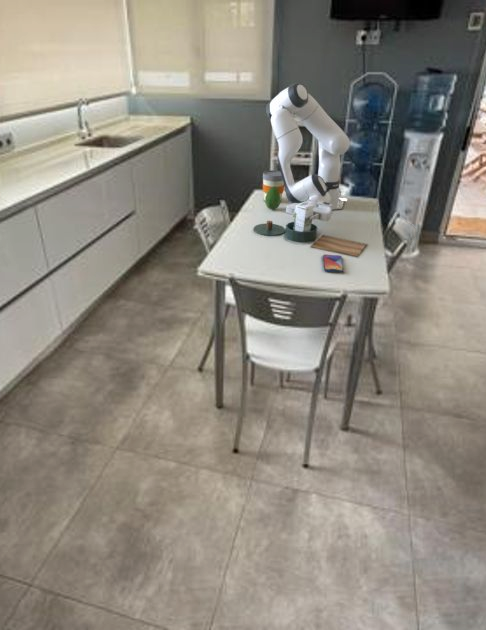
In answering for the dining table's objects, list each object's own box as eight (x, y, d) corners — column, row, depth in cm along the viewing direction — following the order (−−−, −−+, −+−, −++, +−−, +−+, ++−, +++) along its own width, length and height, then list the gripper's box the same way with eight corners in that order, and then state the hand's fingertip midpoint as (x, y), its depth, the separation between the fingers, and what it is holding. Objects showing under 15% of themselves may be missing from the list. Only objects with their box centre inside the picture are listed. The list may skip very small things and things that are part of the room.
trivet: (322, 236, 205) (322, 234, 204) (366, 244, 196) (366, 243, 196) (311, 247, 193) (311, 245, 193) (357, 257, 185) (357, 255, 185)
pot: (292, 230, 210) (293, 219, 207) (319, 236, 205) (321, 225, 202) (280, 239, 200) (281, 228, 197) (309, 246, 194) (310, 234, 192)
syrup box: (300, 232, 205) (303, 201, 198) (310, 235, 202) (314, 204, 194) (292, 235, 202) (295, 204, 194) (302, 239, 198) (306, 207, 191)
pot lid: (261, 223, 217) (262, 214, 214) (289, 229, 211) (290, 219, 209) (247, 233, 206) (248, 223, 204) (277, 239, 200) (277, 229, 198)
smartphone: (341, 257, 184) (341, 255, 184) (343, 273, 172) (343, 270, 171) (322, 256, 185) (323, 254, 185) (323, 271, 172) (324, 269, 172)
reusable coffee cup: (268, 195, 256) (270, 169, 248) (288, 200, 250) (290, 172, 242) (256, 201, 247) (258, 173, 240) (276, 205, 241) (278, 177, 234)
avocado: (276, 206, 240) (277, 184, 234) (282, 211, 234) (283, 188, 228) (262, 207, 238) (263, 185, 232) (267, 212, 232) (269, 189, 225)
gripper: (293, 197, 209) (281, 206, 199) (335, 205, 201) (325, 213, 191) (291, 211, 212) (280, 219, 202) (333, 218, 204) (324, 228, 194)
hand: (302, 216), depth 196 cm, fingers closed on syrup box, 6 cm apart
